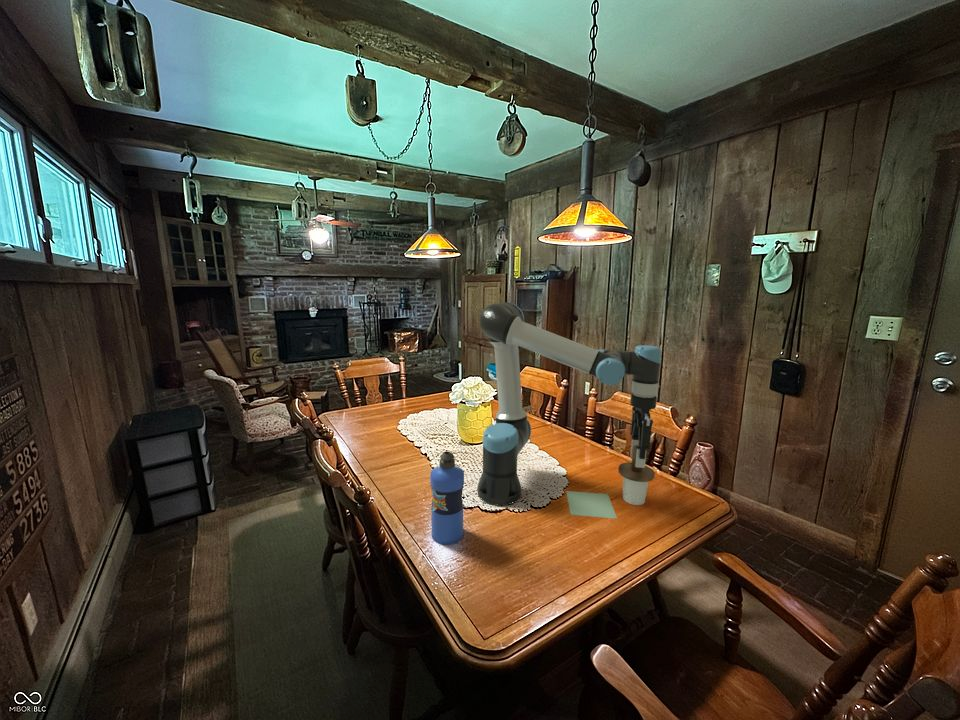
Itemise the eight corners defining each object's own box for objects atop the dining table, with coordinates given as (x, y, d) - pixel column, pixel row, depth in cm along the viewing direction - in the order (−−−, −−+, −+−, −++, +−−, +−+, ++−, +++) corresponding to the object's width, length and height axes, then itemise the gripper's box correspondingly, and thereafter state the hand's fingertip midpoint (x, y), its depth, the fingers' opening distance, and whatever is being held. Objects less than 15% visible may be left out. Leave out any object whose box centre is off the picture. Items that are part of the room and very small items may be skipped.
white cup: (619, 503, 123) (622, 475, 121) (622, 492, 130) (625, 465, 128) (645, 510, 120) (648, 481, 118) (647, 498, 127) (650, 471, 125)
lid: (622, 480, 118) (625, 453, 117) (615, 464, 129) (617, 439, 127) (659, 483, 117) (662, 455, 115) (648, 466, 128) (650, 441, 126)
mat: (570, 516, 116) (570, 514, 116) (566, 492, 130) (566, 490, 129) (617, 520, 114) (617, 518, 114) (607, 495, 128) (607, 494, 128)
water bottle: (447, 520, 113) (446, 442, 108) (470, 533, 107) (471, 451, 103) (424, 535, 106) (422, 453, 101) (447, 550, 100) (447, 463, 96)
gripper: (667, 403, 109) (658, 477, 113) (647, 387, 127) (640, 451, 131) (640, 402, 109) (633, 475, 114) (624, 386, 128) (618, 450, 132)
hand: (637, 462), depth 122 cm, fingers open, 5 cm apart
